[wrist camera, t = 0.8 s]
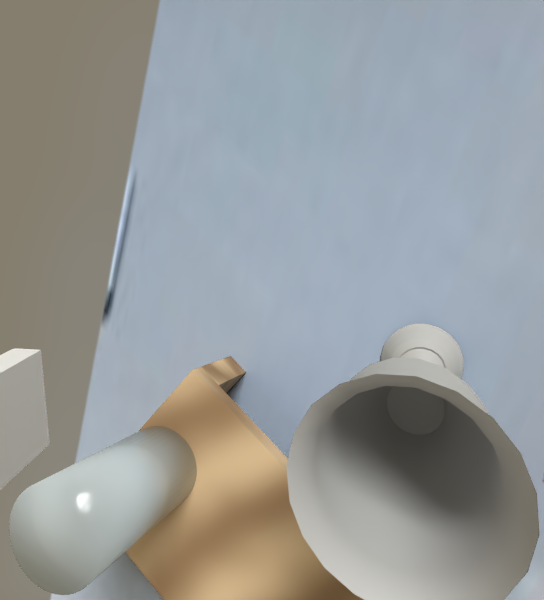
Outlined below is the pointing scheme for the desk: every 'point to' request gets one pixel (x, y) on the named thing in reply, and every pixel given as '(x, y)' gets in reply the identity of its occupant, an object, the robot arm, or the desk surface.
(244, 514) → the shelf
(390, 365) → the chalice
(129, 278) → the desk surface
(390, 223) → the desk surface
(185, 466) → the white glossy rounded part
